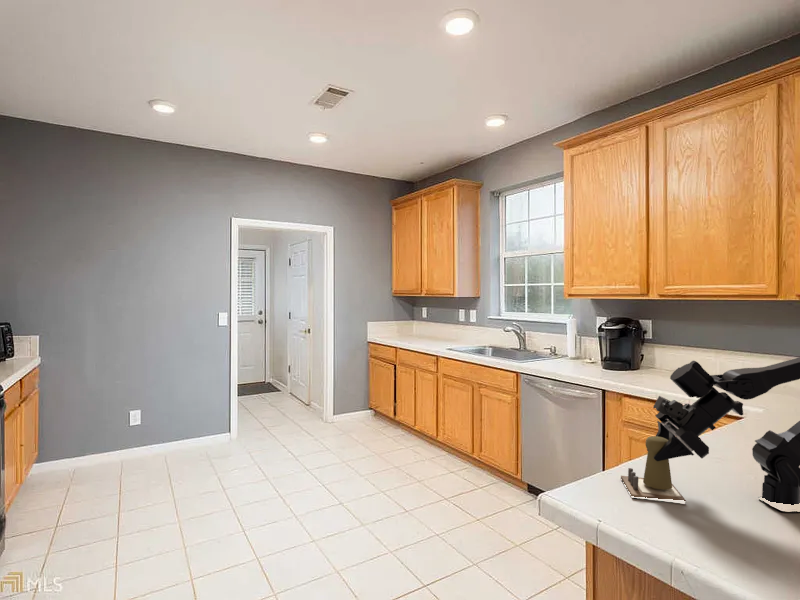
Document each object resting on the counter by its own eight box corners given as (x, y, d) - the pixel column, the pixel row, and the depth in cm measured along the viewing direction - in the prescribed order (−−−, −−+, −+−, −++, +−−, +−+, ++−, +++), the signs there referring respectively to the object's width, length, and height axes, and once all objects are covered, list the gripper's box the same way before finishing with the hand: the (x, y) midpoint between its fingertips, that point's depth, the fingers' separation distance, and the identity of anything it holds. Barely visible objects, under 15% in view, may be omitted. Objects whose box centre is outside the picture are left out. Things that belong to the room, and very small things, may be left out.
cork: (674, 483, 108) (674, 437, 108) (670, 491, 103) (670, 443, 103) (645, 476, 112) (646, 432, 112) (640, 484, 107) (641, 438, 107)
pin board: (669, 484, 112) (669, 468, 112) (685, 504, 101) (686, 486, 101) (620, 479, 114) (621, 463, 114) (631, 498, 104) (632, 481, 104)
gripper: (664, 378, 115) (617, 419, 118) (693, 394, 97) (635, 442, 100) (699, 412, 113) (650, 452, 116) (734, 434, 95) (675, 481, 98)
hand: (651, 455), depth 108 cm, fingers closed on cork, 5 cm apart
